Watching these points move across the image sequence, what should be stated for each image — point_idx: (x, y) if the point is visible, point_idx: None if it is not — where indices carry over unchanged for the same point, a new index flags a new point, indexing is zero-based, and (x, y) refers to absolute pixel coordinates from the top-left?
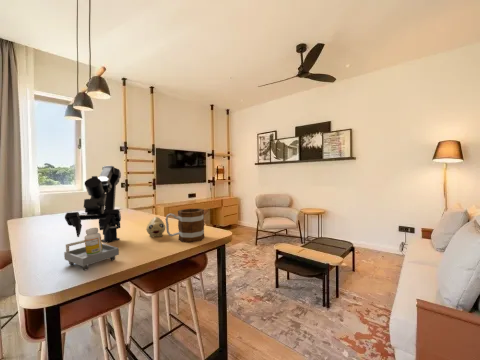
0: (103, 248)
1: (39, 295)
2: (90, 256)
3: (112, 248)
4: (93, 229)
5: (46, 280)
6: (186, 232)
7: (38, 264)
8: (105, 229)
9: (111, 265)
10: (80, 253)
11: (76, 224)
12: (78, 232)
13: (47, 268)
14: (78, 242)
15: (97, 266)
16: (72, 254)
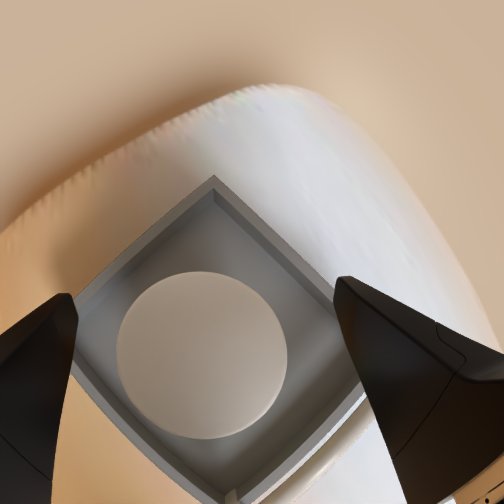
0: (179, 458)
1: (287, 85)
2: (179, 203)
3: (88, 374)
4: (160, 305)
5: (339, 181)
6: None
7: None
8: (26, 320)
9: (101, 268)
10: (306, 389)
11: (465, 350)
12: (356, 293)
13: None
14: (352, 419)
15: None
16: (320, 283)
